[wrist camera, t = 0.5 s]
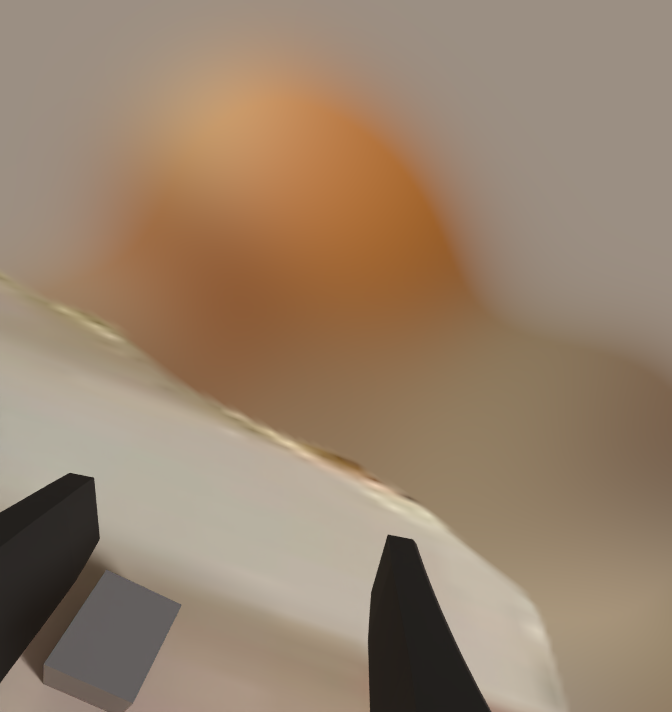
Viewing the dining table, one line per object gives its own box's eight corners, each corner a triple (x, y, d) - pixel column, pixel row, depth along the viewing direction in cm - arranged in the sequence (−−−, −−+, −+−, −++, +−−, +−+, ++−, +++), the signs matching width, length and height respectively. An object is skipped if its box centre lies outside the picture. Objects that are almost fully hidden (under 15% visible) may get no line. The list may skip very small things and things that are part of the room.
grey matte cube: (119, 716, 21) (133, 703, 18) (43, 683, 21) (43, 664, 18) (163, 629, 25) (181, 604, 21) (97, 598, 24) (106, 569, 21)
